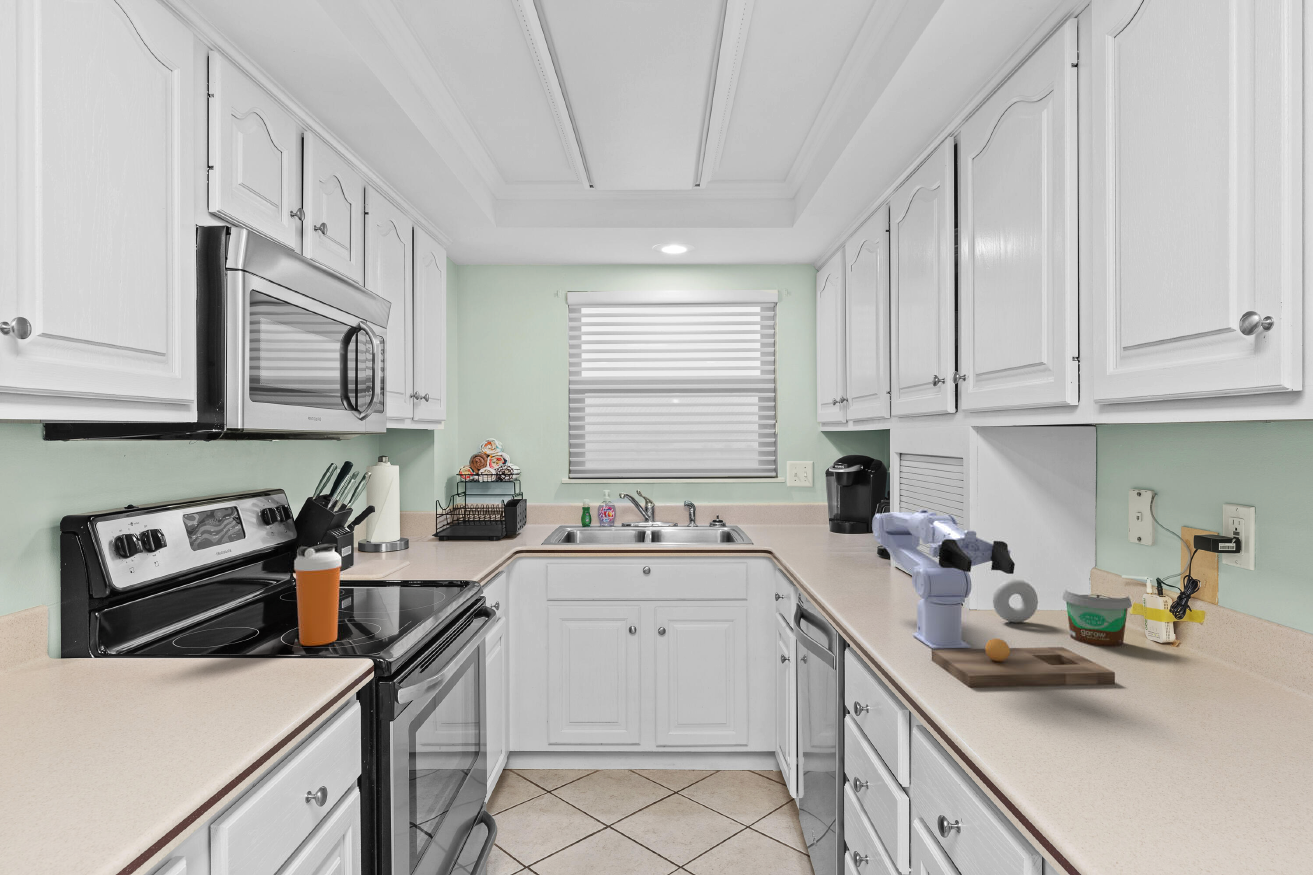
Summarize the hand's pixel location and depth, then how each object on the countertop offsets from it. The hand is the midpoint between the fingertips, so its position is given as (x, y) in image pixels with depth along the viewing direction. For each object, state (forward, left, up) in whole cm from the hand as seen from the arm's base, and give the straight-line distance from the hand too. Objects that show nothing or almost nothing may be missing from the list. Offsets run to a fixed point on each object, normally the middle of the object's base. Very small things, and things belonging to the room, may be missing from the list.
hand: (990, 567), depth 121 cm
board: (-3, +7, -20) cm, 21 cm away
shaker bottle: (-30, -129, -20) cm, 134 cm away
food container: (-18, +33, -20) cm, 43 cm away
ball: (-3, +3, -16) cm, 16 cm away
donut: (-34, +25, -20) cm, 47 cm away
